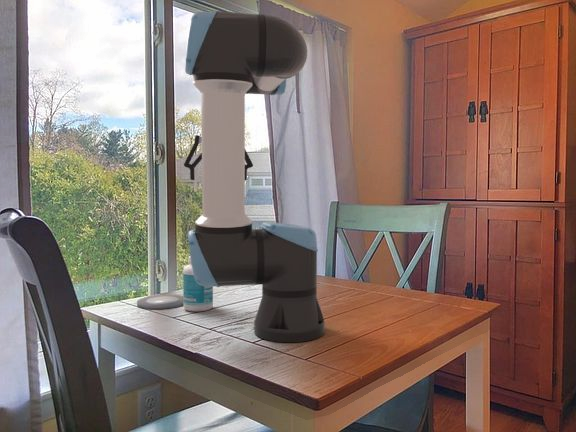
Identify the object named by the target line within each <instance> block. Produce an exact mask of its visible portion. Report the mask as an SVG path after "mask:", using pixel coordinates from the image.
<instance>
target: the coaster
mask: <svg viewBox="0 0 576 432" xmlns="http://www.w3.org/2000/svg"><path fill="white" fill-rule="evenodd" d="M136 306H137V307H138V308H139V309H145V310H167V309H169V310H170V309H174V308H179V307H184V304H183V295H179V294H157V295H151V296H150V295H149V296H146V297H141V298H140V299H138V300H137V301H136Z"/></svg>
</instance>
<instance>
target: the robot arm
mask: <svg viewBox="0 0 576 432" xmlns="http://www.w3.org/2000/svg"><path fill="white" fill-rule="evenodd" d="M186 41H187V42H186V52H185V64H184V65H185V66H184V71H185V73H186V74H187V75H188V76H192V84H193V86H194V87H195V88H196V89H197V90H198V91H199V93H200V106H201V107H200V113H201V115H200V116H201V117H200V119H201V124H200V125H201V135H200V136H199V135H198V134H196V135H195V137H194V142H193V145H192V146H191V147H192V148H191V149H190V151H189V153H188V155H187V157H186V159H185V161H184V163H183V166H184V167H185V168H187V169H189V177H190V180H191V181H193V183H194V184H193V186H194V192H198V169H196V167H197V165H199V163H200V162H201V178H202V179H201V182H202V183H201V186H202V187H201V188H202V197H201V198H202V201H201V202H202V212H201V215H200V216H199V217H198V218H197V219H195V222H194V228H195V229H191V230H189V231H188V233H187V237H188V248H189V256H190V257H191V264H192V269H193V274H194V278H195V281H196V282H197V283H198V284H199V285H201V286H213V287H217V288H220V287H230V286H232V287H233V286H257V285H261V288H262V289H261V291H262V293H261V299H260V303H259V305H258V309H257V312H256V315H255V319H254V323H253V324H254V326H253V327H254V328H253V329H254V331H253V332H254V335H255V336H256V337H258V338H260V339H263V340H266V341H271V342H278V343H300V342H301V343H302V342H308V341H313V340H316V339H319V338H320V337H322V336H324V335H325V333H326V328H325V327H326V322H325V318H324V314H323V313H322V312H323V311H322V309H321V306H320V303H319V300H318V296H317V294H318V292H317V287H318V284H317V283H318V281H317V279H318V278H317V276H318V275H317V274H318V273H317V272H318V270H317V269H318V268H317V267H318V259H317V258H318V257H317V255H318V244H317V243H318V242H317V234H316V232H315V230H313V229H312V228H310V227H307V226H303V225H296V224H289V223H282V222H281V223H280V222H274V221H273V222H270V221H264V222H262V224H261V226H260V229H259V228H258V229H256V228H253V221H252V219H251V218H250V217H249V216H248V215H247V214H246V212H245V209H246V208H245V205H246V204H245V198H246V197H245V195H246V194H245V192H246V191H245V190H246V189H245V188H246V184H245V183H246V182H245V181H247V180H248V169H251V168H253V166H254V163H253V162H252V160H251V158H250V156H249V154H248V152H247V150H246V148H245V147H246V143H245V141H246V139H245V138H246V137H245V136H246V135H245V134H246V133H245V130H246V129H245V128H246V127H245V121H246V120H245V117H246V116H245V115H246V113H245V112H246V111H245V110H246V109H245V107H246V104H245V103H246V101H245V100H246V98H245V97H246V95H248V94H250V95H270V96H275V95H277V96H278V95H283V94H284V93H285V91H286V87H287V79H291V78H294V77H295V76H296V75H297V74H299V73H300V71H302V69H303V68H304V66H305V65H306V63H307V58H308V46H307V43H306V42H307V41H305V38H304V36H303V34H302V33H301V32H300V31H299V29H298V28H297V27H296V26H294V25H293V24H292V23H290V22H289V21H288V20H286V19H284V18H281V17H280V16H278V15H277V16H276V15H272V14H266V13H265V14H259V13H257V14H256V13H246V12H233V11H221V10H214V11H197V12H194V13H193V14H192V15H191V17H190V20H189V27H188V33H187V40H186ZM200 144H201V153H200V154H199V155H198V157H197V158H196V159H195V160H194V161H193V162H192V163H190V162H191V160H192V159H193V156H194V155H195V153H196V150H197V149H198V146H199V145H200Z"/></svg>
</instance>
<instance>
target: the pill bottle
mask: <svg viewBox="0 0 576 432" xmlns="http://www.w3.org/2000/svg"><path fill="white" fill-rule="evenodd" d="M187 261H188V263H189V264H187V265H185V266H184V267H183V269H182V272H183V273H182V278H183V279H182V280H183V281H182V285H183V286H182V287H183V288H182V289H183V290H182V291H183V293H182V294H183V295H182V296H183V304H184V305H183V309H184V310H185V311H188V312H205V311H210V310H211V309H212V308H213V305H214V288H213V287H214V286H201V285H199V284H198V283H197V282H196V281H195V278H194V274H193V269H192V264H191V257H190V255H189V256H188V260H187Z"/></svg>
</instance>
